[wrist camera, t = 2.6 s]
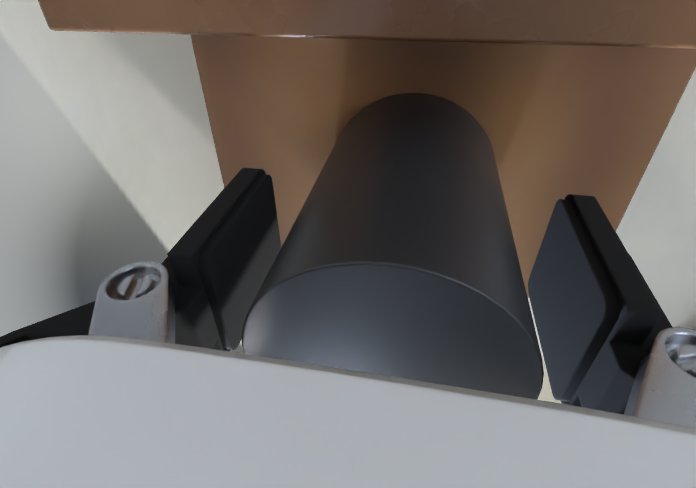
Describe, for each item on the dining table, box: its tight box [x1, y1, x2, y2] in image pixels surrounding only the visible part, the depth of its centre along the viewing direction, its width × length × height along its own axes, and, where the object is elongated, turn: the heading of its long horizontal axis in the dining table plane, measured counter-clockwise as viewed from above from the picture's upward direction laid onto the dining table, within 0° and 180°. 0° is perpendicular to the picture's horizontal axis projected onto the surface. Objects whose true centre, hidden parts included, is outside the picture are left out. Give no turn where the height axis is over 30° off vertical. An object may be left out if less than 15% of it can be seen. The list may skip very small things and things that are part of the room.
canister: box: [242, 93, 544, 400], centre depth 10 cm, size 5×5×8 cm
